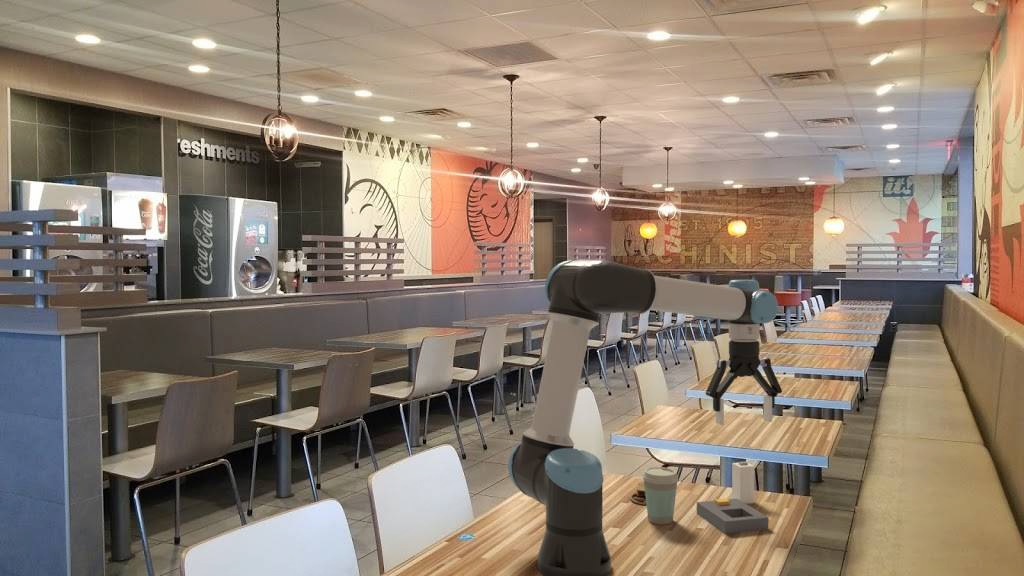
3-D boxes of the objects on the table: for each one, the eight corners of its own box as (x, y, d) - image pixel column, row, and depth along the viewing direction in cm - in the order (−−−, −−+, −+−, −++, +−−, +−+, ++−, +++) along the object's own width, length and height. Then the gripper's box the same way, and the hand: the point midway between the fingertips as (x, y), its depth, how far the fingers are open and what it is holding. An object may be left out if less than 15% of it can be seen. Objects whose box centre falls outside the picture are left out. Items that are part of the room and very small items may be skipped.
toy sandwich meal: (625, 504, 192) (625, 490, 192) (636, 492, 201) (636, 479, 201) (660, 509, 188) (660, 495, 188) (670, 497, 197) (670, 484, 197)
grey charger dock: (725, 534, 169) (725, 518, 169) (696, 514, 183) (696, 498, 183) (768, 530, 172) (768, 514, 172) (737, 510, 186) (737, 495, 185)
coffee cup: (678, 527, 174) (679, 477, 173) (641, 525, 176) (641, 475, 175) (678, 515, 182) (678, 467, 182) (642, 513, 184) (642, 465, 183)
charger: (740, 506, 189) (740, 464, 189) (732, 501, 193) (732, 460, 192) (754, 504, 190) (754, 463, 189) (746, 499, 194) (746, 459, 193)
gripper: (706, 343, 183) (706, 428, 184) (796, 339, 189) (795, 422, 190) (692, 340, 191) (692, 422, 192) (779, 336, 196) (779, 416, 197)
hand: (743, 422), depth 191 cm, fingers open, 13 cm apart
